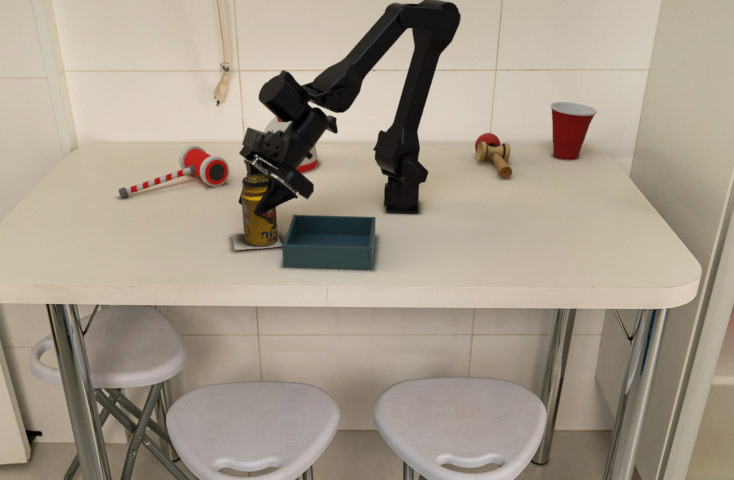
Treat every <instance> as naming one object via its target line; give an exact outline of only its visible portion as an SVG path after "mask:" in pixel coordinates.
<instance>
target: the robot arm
mask: <svg viewBox="0 0 734 480" xmlns="http://www.w3.org/2000/svg"><path fill="white" fill-rule="evenodd" d="M461 19H462V17H461V13H460V10H459V7H458V6H457V5H456V4H455V3H454V2H451V1H445V0H422V1H420V2H418V3H411V2H408V3H399V2H392V3H390V4H388V5H387V6H386V8H385V9H384V12H383V14H382V15H381V16H380V17H379V18H378V19H377V21H376V22H374V24H373V25H372V26H371V27H370V29H369V30H368V31H367V32H366V33H365V34H364V35H363V36H362V37H361V39H360V40H359V41H358V42H357V43H356V44H355V45H354V47H352V49H351V50H350V51H349V53H347V55H346V56H345V57H344V58H342V59H341V60H340V61H338V62H336V63H334V64H332V65H330V66H328V67H327V68H326V69H324V70H323V71H322V72H320V74H318V75H317V76H316V77H314V79H313V81H311V82H308V83H305V84H300V83H299V82H298V81H297V80H296V79H295V77H294V76H293V75H292V73H291V72H290V71H287V70H284V69H282V70H281V71H280V73H279V74H277V75H275V76H273V77H272V78H270V79H269V80H267V81H266V82H265V83H264V84H263V85H262V86H261V88H260V90H259V92H258V101H259V102H260V104H262V105H263V106H264V107H265V108H266V109H267V110H268V111H270V112H271V114H273V116H274V117H277V118H279V119H280V120H281V121H282V122H289V121H291V123H290V124H289V125H288V127H287V128H286V130H285V131H284V132H283V131H281V130H279V131H276V133H273V132H271V131H268V132H267V133H264V131H262V130H258V129H255V128H252V127H249V126H247V128H246V131H245V134H244V136H243V137H244V138H243V140H242V143H241V145H242V146H243V147H242V148H241V149H240V151H239V152H238V154H239V155H240V156H241V157H243V163H244V164H245V168H246V176H248V175H252V174H264V175H268V176H269V186H268V188H267V190H266V191H265V193H264V195H263V196H262V198H261V200H260V201H259V203H258V205H257V206H256V208H255V210H254V214H255V215H256V216H260V215H262V214H264V213H265V212H267V211H269V210H271V209H273V208H275V207H276V208H277V207H278V206H280V205H282V204H284V203H287V202H289V201H291V200H293V199H298V198H299V196H300V197H302V198H304V199H306V200H309V199H310V197H311V196H312V195H313V194H314V192H315V184H314V183H313V182H312V181H311V180H310V179H309V178H308V177H306V176H305V175H304V174H303V173H300V172H299V171H298V170H297V169H298V167H299V166H300V165H301V163H302V162H303V161H304V159H305V158H307V159H309V160H310V159H311V158H312V156H313V155H312V154H311V153H310V151H311V150H312V148H313V147H314V145H316V144H317V143H318V141H319V140H320V139H321V137H322V136H323V135H324V133H325V132H326V131H328V132H330V133H332V134H335V135H337V134H338V133H339V130H338V124H337V120H338V119H337V117H335V116H333V115H331V114H330V115H327V114H326V113H325V112H324V111H323V110H322V108H323V109H325V110H328V111H330V112H332V113H335V114H344V113H345V112H347V111H349V110H350V108H351V107H352V106H353V104H354V102H355V100H356V99H357V98H358V96H359V95H360V93H361V89H362V85H363V81H364V80H365V78H366V77H367V75H369V73H370V72H371V71H372V70H373V68H374V67H375V66H376V65H377V64H378V62H380V60H381V59H382V58H383V57H384V56H385V55H386V53H387V52H388V51H390V49H391V48H392V47H393V46H394V44H395V43H397V41H398V40H399V39H400V38H401V36H402V35H403V34H404V33H405V32H406V31H407V30H408V29H411V33H412V39H413V45H414V46H413V47H414V48H413V52H412V55H411V59H410V63H409V66H408V69H407V73H406V77H405V79H404V83H403V87H402V90H401V95H400V98H399V101H398V105H397V108H396V112H395V115H394V119H393V122H392V124H391V125H390V127H389V128H388V129H387V130H386V131H385V130H379V132H378V134H377V141H376V144H375V145H374V147H373V149H372V150H373V151H374V152H375V153H374V161H375V162H376V165H377V166H378V167H379V169H380V171H381V174H382V175H383V176H387V182H385V183H384V189H383V190H384V191H383V192H384V193H383V195H384V196H383V206H384V208H385V212H386V213H392V214H394V213H395V214H396V213H398V214H419V212H420V205H419V203H420V201H419V199H420V198H419V196H420V184H423V183H426V182H427V178H428V175H429V170H428V169H427V168H426V167H425V166H424V165H423V164H422V163H421V162H420V161H419V156H420V151H421V145H420V140H419V132H418V131H419V127H420V124H421V120H422V118H423V114H424V111H425V107H426V103H427V100H428V97H429V94H430V91H431V87H432V83H433V81H434V77H435V73H436V70H437V67H438V63H439V61H440V58H441V55H442V53H444V51H445V50H446V49H447V48H448V47H449V45H450V44H451V43H452V42H453V40H454V38H455V36H456V33H457V30H458V29H459V26H460V23H461ZM309 103H311V104H314V105H316V106H314V107H312V106H311V105H310V104H309ZM317 106H318V107H317ZM272 174H273V175H274V176H273V175H272ZM275 176H276V177H275ZM242 192H243V189H241V192H240V195H239V198H238V204H239V205H241V206H242V200H241V194H242ZM297 193H298V195H299V196H298V195H297Z"/></svg>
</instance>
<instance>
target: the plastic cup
mask: <svg viewBox="0 0 734 480" xmlns="http://www.w3.org/2000/svg"><path fill="white" fill-rule="evenodd" d="M550 109H551V120H552V122H551V123H552V125H551V126H552V127H551V128H552V153H553V157H554V158H555V159H558V160H562V161H563V160H564V161H573V160H577V159H579V158H578V157H579V156H580V153H581V151H582V146H583V144H584V142H585V139H586V136H587V134H588V130H589V127H590V125H591V124H592V120H593V119H594V117H595V115H597V113H598V110H597V109H596V108H594V107H592V106H589V105H586V104H582V103H577V102H570V101H554V102H552V103H550Z"/></svg>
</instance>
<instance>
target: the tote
mask: <svg viewBox="0 0 734 480" xmlns="http://www.w3.org/2000/svg"><path fill="white" fill-rule="evenodd" d="M376 218H377V217H376V216H356V215H353V216H352V215H351V216H350V215H319V214H318V215H317V214H293V215H292V218H291V220H290V222H289V226H288V229H287V232H286V235H285V237H284V240H283V243H282V246H281V247H282V267H283V268H300V269H301V268H303V269H335V270H336V269H337V270H339V269H340V270H364V271H366V270H367V271H369V270H370V271H372V270H373V261H374V253H375V252H374V251H375V244H376V221H377V220H376Z"/></svg>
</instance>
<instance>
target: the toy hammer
mask: <svg viewBox="0 0 734 480" xmlns="http://www.w3.org/2000/svg"><path fill="white" fill-rule="evenodd" d="M178 163H179V167H180V168H181V169H178V170H177V171H173V172H170V173H167V174H164V175H161V176H159V177H155V178H153V179H150V180H147V181H143V182H141V183H137V184H134V185H132V186H129V187H121V188H118V194H119V196H120V198H121V199H124V198H127V197H128V196H129V195H131V194H134V193H137V192H140V191H143V190H146V189H150V188H152V187H154V186H155V187H156V186H159V185H161V184H163V183H167V182H169V181H173V180H175V179H179V178H182V177H184V176H187V175H191V176H197V177H198V178H201V179H200V180H201V181H203V183H205V185H208V186H211V187H212V188H214V187H220V186H222V185H224V183H226V181H228V178H229V175H230V166H229V163H228V162H227V161H226V160H225V158H222V157H220V156H218V155H211V154H209V153H207V151H206V150H205V149H204V148H202V147H200V146H198V145H195V144H190V145H187V146H186V147H184V148H183V149H182V151H180V154H179V156H178Z"/></svg>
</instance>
